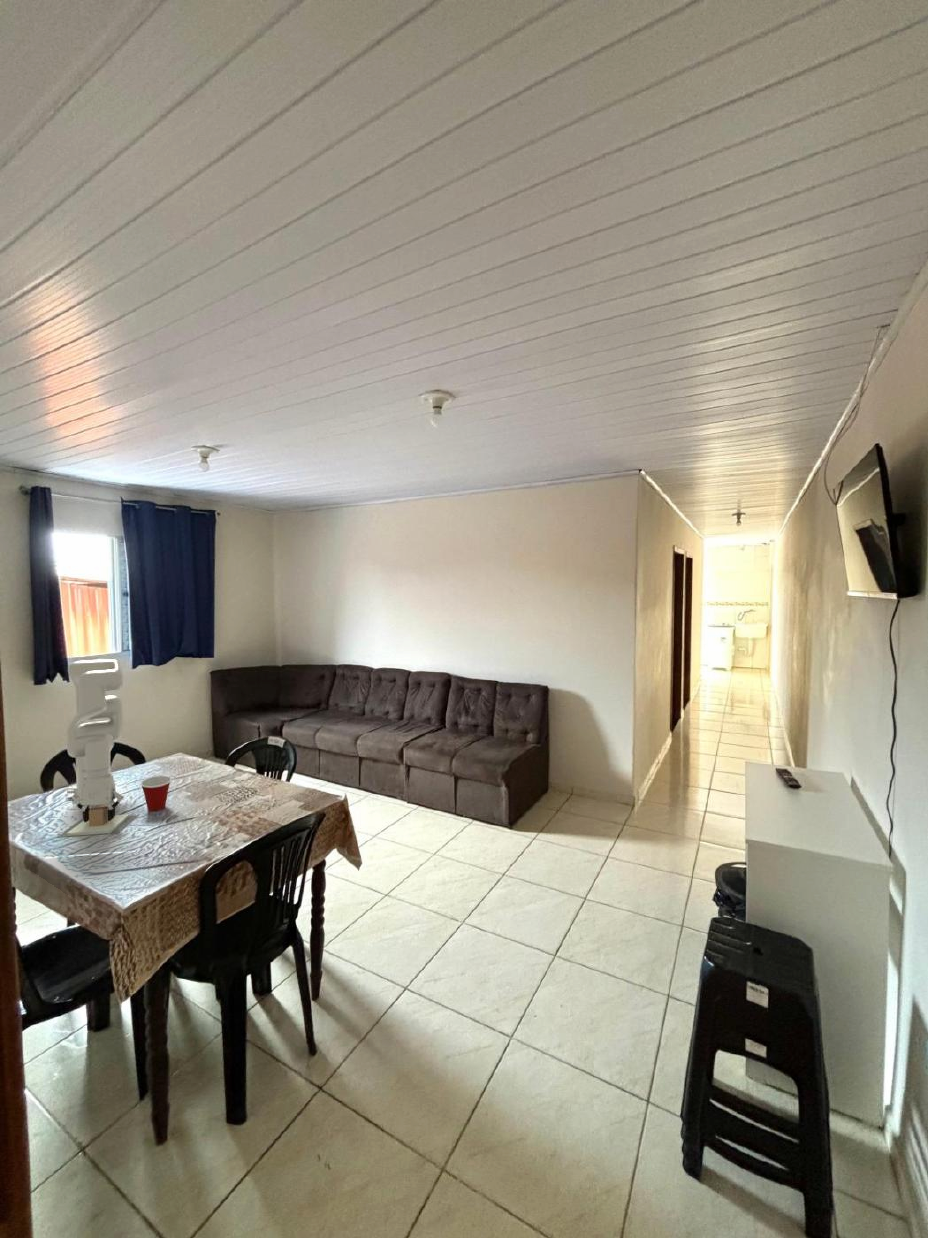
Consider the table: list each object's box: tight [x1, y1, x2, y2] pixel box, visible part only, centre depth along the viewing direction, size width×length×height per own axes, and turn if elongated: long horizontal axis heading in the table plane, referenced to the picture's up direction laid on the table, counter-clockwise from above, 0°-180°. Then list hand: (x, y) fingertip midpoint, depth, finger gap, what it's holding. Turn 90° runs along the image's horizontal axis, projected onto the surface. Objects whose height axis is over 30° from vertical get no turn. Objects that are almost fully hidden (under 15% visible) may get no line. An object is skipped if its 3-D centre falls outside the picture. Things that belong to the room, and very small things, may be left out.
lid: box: [67, 805, 130, 836], centre depth 189 cm, size 14×14×7 cm
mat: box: [55, 815, 140, 839], centre depth 189 cm, size 20×16×1 cm
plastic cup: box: [140, 775, 172, 812], centre depth 205 cm, size 11×11×12 cm
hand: (99, 819), depth 189 cm, fingers open, 7 cm apart
